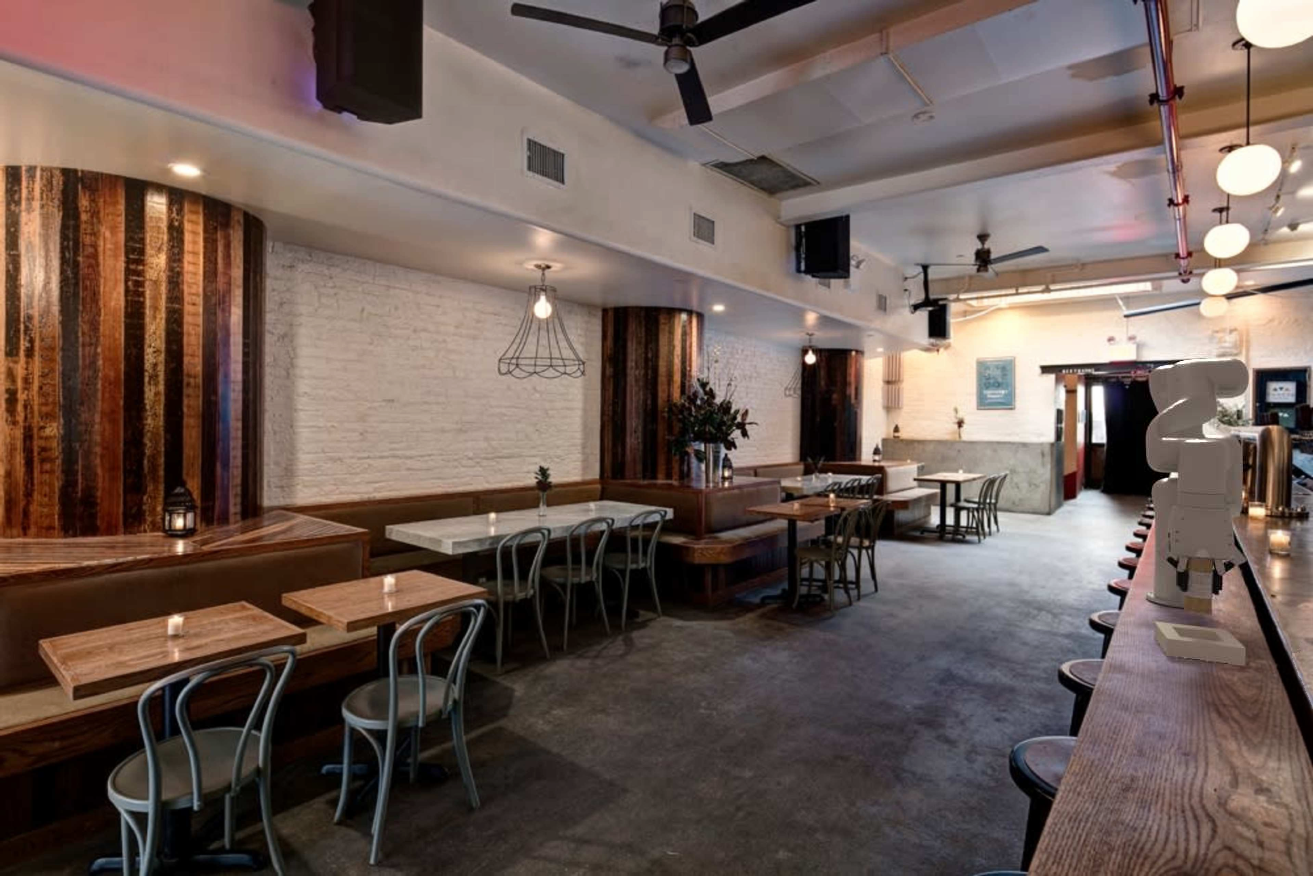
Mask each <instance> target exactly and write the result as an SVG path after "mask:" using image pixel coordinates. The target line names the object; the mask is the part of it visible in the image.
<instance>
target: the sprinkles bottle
mask: <svg viewBox="0 0 1313 876" xmlns="http://www.w3.org/2000/svg"><path fill="white" fill-rule="evenodd" d="M1208 558H1209V555H1208V553H1207V551H1206V550H1204V549H1200V550H1199V551H1198V552H1197V554H1196V557H1193V558H1188V560H1187V564H1186V572H1187V573H1188V582H1187V591H1186V592H1185V606H1184V608H1183V609H1184V611H1185V612H1188V613H1191V614H1196V615H1204V616H1205V615H1208V616H1209V615H1212V614H1213V610H1212V609H1213V597H1214V594H1213V570H1214V568H1213V559H1208Z"/></svg>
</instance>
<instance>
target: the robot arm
mask: <svg viewBox="0 0 1313 876" xmlns="http://www.w3.org/2000/svg"><path fill="white" fill-rule="evenodd" d="M1249 376H1250V373H1249V370H1248V367H1247V365H1246V363H1244V362H1243V361H1242V360H1241V359H1237V358H1209V359H1207V358H1206V359H1204V358H1203V359H1202V358H1201V359H1188V360H1183V361H1179V362H1176V363H1174V364H1170V365H1169V364H1168V365H1163V366H1159V367H1156V368H1154V369H1153V370H1151V372H1150V374H1149V375H1148V387H1149V392H1150V395H1151V398H1152V401H1153V404H1154V406H1155V408H1156V411H1157V412H1158V414H1157V415H1156V416H1155V417H1154V418H1153V419H1152V420H1151V422H1150V423H1149V425H1148V426H1147V429H1146V433H1145V447H1146V448H1145V449H1146V450H1145V452H1146V454H1145V455H1146V456H1145V457H1146V462H1147V464H1148V466H1149V468H1151V469H1152V470H1153V471H1155V472H1159V473H1170V474H1171V473H1172V474H1173V473H1174V474H1175V473H1176V474H1177V477H1165V478H1161V479H1159V480H1157V481H1156V482H1155V483H1153V485H1152V489H1151V497H1152V498H1151V499H1152V505H1153V513H1154V526H1155V527H1154V529H1155V531H1154V568H1153V569H1154V570H1153V571H1154V572H1153V574H1154V575H1153V576H1154V578H1153V590H1152V591H1148V592H1147V593H1145V596H1146V599H1147V600H1148V601H1151V602H1153V603H1155V604H1159V605H1164V606H1168V607H1174V608H1180V609H1184V606H1185V592H1186V591H1187V582H1188V573H1187V572H1186V564H1187V560H1188V558H1193V557H1196V554H1197V552H1198V551H1199V550H1200V549H1204V550H1206V551H1207V553H1208V555H1209V558H1208V559H1213V595H1215V596H1219V595H1220V591H1223V584H1224V583H1223V582H1224V576H1225V575H1226V574H1227V573H1228V572H1229V571H1231V570H1232V569H1234V568H1235V567H1236V566H1237V567H1238V566H1239V565H1241V564H1244V563H1246V562H1247V558H1246V557H1245V556H1244V555H1243V553H1242V552H1241V551H1240V550H1239V548H1238V547H1237V546H1236V545H1235V535H1234V525H1233V519H1234V518H1237V517H1238V516H1239V515H1240V514H1241V512H1242V508H1243V494H1244V493H1243V492H1244V491H1243V490H1244V489H1243V486H1244V485H1243V483H1244V482H1243V481H1244V480H1243V479H1244V478H1243V477H1244V475H1243V474H1244V473H1243V472H1244V471H1243V470H1244V467H1243V465H1244V464H1243V462H1244V461H1243V460H1244V459H1243V449H1242V445H1241V443H1240V442H1239V440H1238V439H1237V438H1235V437H1233V436H1230V435H1220V434H1219V435H1216V434H1214V435H1213V434H1211V435H1210V434H1204V429H1203V428H1204V427H1203V426H1204V424H1206V423H1209V422H1211V420H1213V419H1214V418H1215V417H1216V415H1217V413H1218V411H1219V410H1218V409H1219V407H1218V401H1217V400H1218V399H1234V398H1236V397H1241V395H1244V393H1246V391H1247V390H1248V386H1249V380H1250V377H1249ZM1223 561H1224V562H1223Z"/></svg>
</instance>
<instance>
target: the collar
mask: <svg viewBox="0 0 1313 876" xmlns="http://www.w3.org/2000/svg"><path fill="white" fill-rule="evenodd" d="M1153 630H1154V631H1153V632H1154V634H1153V635H1154V636H1153V637H1155V638H1154V639H1156V640H1157V641H1158V642H1157V641H1156V640H1155V641H1156V642H1157V644H1158V643H1159V644H1160V645H1161V647H1162V648H1161V647H1160V648H1161V650H1162V649H1163V650H1164V651H1163V650H1162V651H1163V653H1164V652H1165V653H1166V654H1165V653H1164V654H1165V656H1166V655H1169V656H1168V657H1171V656H1178V657H1187V658H1193V659H1203V660H1209V661H1216V662H1222V663H1221V664H1223V663H1228V664H1227V665H1231V666H1239V667H1246V653H1247V651H1246V647H1245V646H1244V645H1243V644H1242V643H1241V642H1240V641H1239V640H1238V639H1237V638H1236V637H1235V636H1233V635H1232V633H1231V632H1229V631H1228V629H1223V628H1214V627H1205V626H1198V625H1196V626H1195V625H1188V624H1179V623H1171V622H1164V621H1163V622H1161V621H1154V629H1153ZM1159 644H1158V645H1159ZM1160 645H1159V646H1160ZM1178 657H1177V658H1178ZM1193 659H1192V660H1193ZM1216 662H1215V663H1216Z"/></svg>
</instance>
